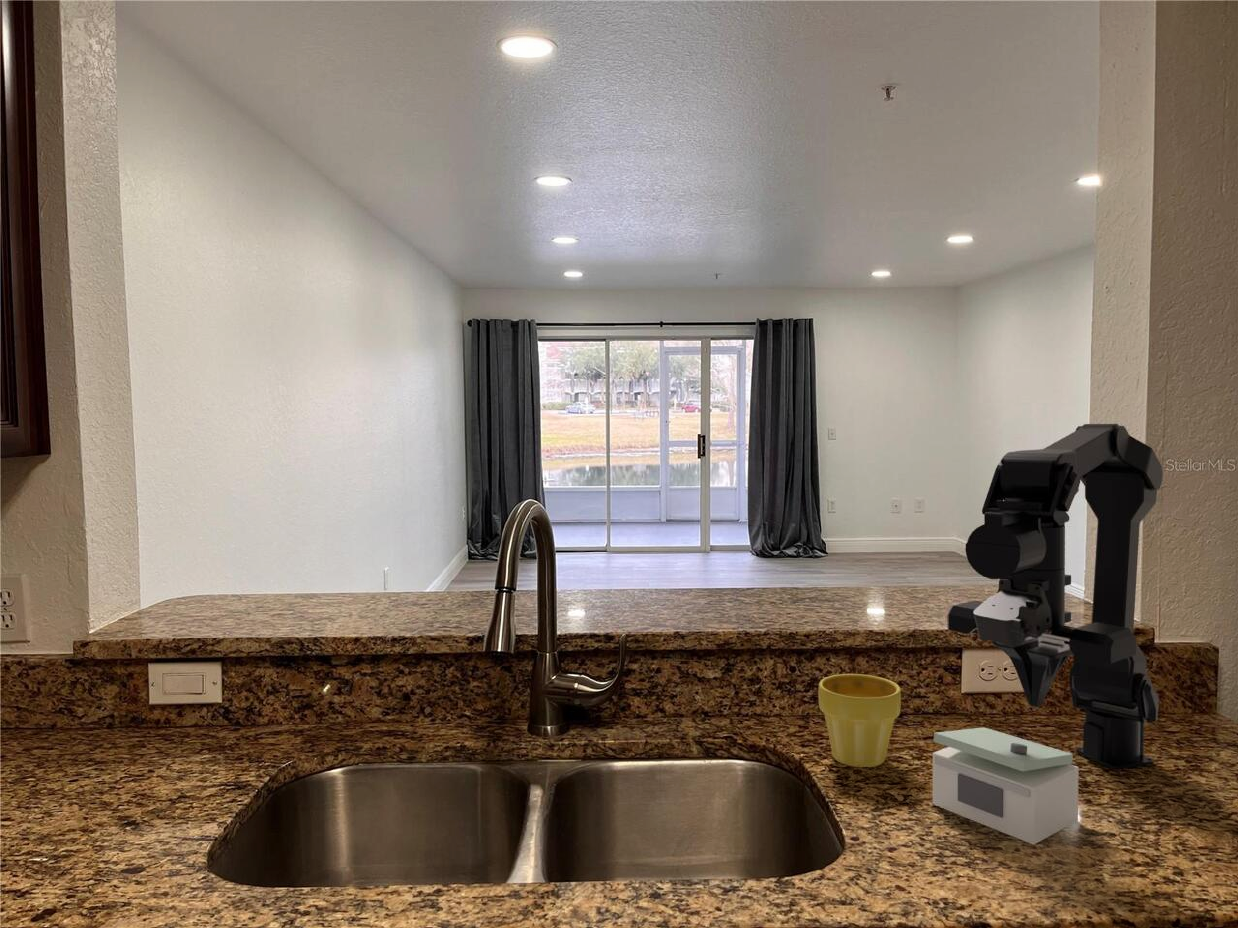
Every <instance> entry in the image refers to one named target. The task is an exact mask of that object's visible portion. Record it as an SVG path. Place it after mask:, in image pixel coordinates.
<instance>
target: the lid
mask: <svg viewBox="0 0 1238 928" xmlns="http://www.w3.org/2000/svg"><path fill="white" fill-rule="evenodd" d="M933 742H934V743H937V744H940V745H943V746H946V747H951V748H954V749H957V750H960V751H963V752H966V753H969V754H972V755H975V756H978V757H981V758H984V759H987V760H990V761H993V762H996V763H999V764H1002V765H1005V766H1008V767H1011V768H1014V769H1017V770H1020V771H1029V770H1035V769H1041V768H1047V767H1053V766H1059V765H1065V764H1070V765H1072V764H1073V758H1074V757H1073V756H1074V754H1073V753H1071V752H1068V751H1063V750H1060V749H1056V748H1054V747H1050V746H1047V745H1044V744H1041V743H1037V742H1034V741H1031V740H1027V739H1025V738H1024V739H1023V738H1022V737H1018V736H1015V735H1011V734H1007V733H1004V732H1001V731H997V730H994V729H991V728H988V727H975V728H965V729H964V728H963V729H959V730H958V729H957V730H949V731H948V730H946V731H939V732H933Z"/></svg>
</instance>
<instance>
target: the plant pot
mask: <svg viewBox="0 0 1238 928" xmlns="http://www.w3.org/2000/svg"><path fill="white" fill-rule="evenodd" d="M901 699H902V690H901V687H900V686H899V685H898V684H897V683H896V682H895V681H892V680H890V679H887V678H884V677H880V676H875V675H870V674H860V673H841V674H833V675H830V676H826V677H824V678H822V679H820V681H819V683H818V707H819V710H820V711H821V712H822V713H823V714H824V718H825V725H826V729H827V733H828V738H829V743H830V747H831V748H830V749H831V754H832V757H833V759H834V760H836V761H837V762H838V763H840V764H843V765H846V766H849V767H855V768H863V767H868V768H874V767H878V766H881V765H882V764H883V763H884V762H885V761H886V756H887V753H888V747H889V744H890V743H889V742H890V739H891V735H892V731H893V727H894V723H895V719H897V718H898V717H899V716H900V714H901V706H902V705H901V703H902V700H901Z"/></svg>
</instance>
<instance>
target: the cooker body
mask: <svg viewBox="0 0 1238 928" xmlns="http://www.w3.org/2000/svg"><path fill="white" fill-rule="evenodd" d="M933 804H934V805H933ZM932 805H933V806H936V807H938V806H939V807H938V808H942V809H943V808H944V810H946V811H949V812H951V813H952V814H956V815H958V816H961V817H963V818H966V819H968V820H971V821H974V822H976V823H979V824H981V825H983V826H986V827H988V828H991V829H994V830H996V831H998V832H1001V833H1003V834H1006V835H1009V836H1011V837H1013V838H1016V839H1018V840H1021V841H1023V842H1026V843H1028V844H1029V845H1030V844H1031V845H1033V846H1034V845H1036V844H1037V843H1039V842H1042V841H1043V840H1046V839H1047V838H1049V837H1051V836H1052V835H1055V834H1056V833H1058V832H1060V831H1062V830H1063V829H1066V828H1067V827H1069V826H1072V825H1073V824H1074V823H1077V822H1078V821H1079V766H1076V765H1073V764H1065V765H1059V766H1053V767H1047V768H1041V769H1035V770H1029V771H1020V770H1017V769H1014V768H1011V767H1008V766H1005V765H1002V764H999V763H996V762H993V761H990V760H987V759H984V758H981V757H978V756H975V755H972V754H969V753H966V752H963V751H960V750H957V749H954V748H951V747H948V746H946V747H945V748H943V749H942V748H941V749H940V750H936V751H934V752H932Z"/></svg>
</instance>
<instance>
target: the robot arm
mask: <svg viewBox="0 0 1238 928" xmlns="http://www.w3.org/2000/svg"><path fill="white" fill-rule="evenodd" d="M1160 462H1161V461H1160V460H1159V459H1158V457H1157V454H1156V453H1155V451H1154V450H1153V448H1152V447H1150V446H1149V445H1147V444H1146V443H1143V442H1142V441H1140V440H1138V439H1137V438H1135V437H1133V436H1132V435H1130V434H1129V432H1128V431H1127V428H1126V427H1125V426H1124V425H1120V424H1118V423H1084V424H1083V425H1079V426H1077V427H1076V428H1075V431H1073V432H1071V433H1070V434H1068V435H1066V436H1065V437H1063V438H1061V439H1059V440H1057V441H1054V442H1053V443H1051V444H1050V445H1047V446H1046V447H1044V448H1040V449H1025V450H1016V451H1015V450H1014V451H1008V452H1007V453H1005V454H1004V455H1003V456H1002V458H1001V459H1000V462H999V463H998V464H997V466H996V467H995V470H994V473H993V476H992V480H991V482H990V485H989V489H988V491H987V494H986V497H985V500H984V503H983V506H982V509H981V513H982V515H984V518H983V519H984V520H983V521H984V522H983V523H984V524H981V525H979V526H978V527H976V528H975V529H974V530H973V531H972V532H971V533H970V535H969V536H968V539H967V541H966V543H965V554H966V556H965V557H966V558H967V562H968V563H969V565H970V567H971V568H972V569H973V570H974V571H975V573H977V574H979V575H980V576H982V577H984V578H986V579H990V580H998V589H997V592H996V594H993V595H990V596H989V597H988V598H987V599H986V600H984V601H980V600H976V599H975V600H971V601H967V602H962V603H959V604H954V605H952V606H951V608H950V609H949V611H948V612H947V619H946V621H947V622H946V623H947V624H946V625H947V626H946V628H947V630H949V631H953V632H956V633H962V634H967V635H970V634H972V633H973V632H975V631H976V630H977V634H978V639H979V640H981V641H983V642H988V641H990V642H991V643H992V645H993V647H995V648H999V649H1000V650H1001V651H1003V653H1005V654H1006V656H1007V657H1009V659H1010V660H1011V663H1012V665H1013V667H1014V669H1015V671H1016V674H1017V676H1018V680H1019V681H1020V685H1021V687H1022V689H1023V693H1024V695H1025V698H1026V700H1027V703H1028V705H1029V706H1030V707H1033V708H1039V707H1041V706H1042V705H1043V702H1044V700H1045V699H1046V697H1047V694H1048V693H1049V690H1050V689H1051V687H1052V684H1053V682H1054V681H1055V678H1056V677H1057V675H1058V673H1059V671H1060V670H1061V668H1062V666H1063V665H1064V664H1065V662H1066V660H1067V659H1068V658H1069V656H1070V655H1073V662H1072V664H1071V667H1070V669H1069V678H1068V679H1069V687H1070V692H1071V699H1072V704H1073V705H1072V707H1073V708H1075V709H1083V710H1085V714H1084V715H1085V718H1084V719H1085V722H1083V726H1082V728H1083V729H1082V730H1083V733H1082V734H1083V735H1082V736H1083V738H1082V741H1083V742H1082V747H1081V746H1080V747H1076V748H1075V752H1076V753H1077V754H1079V755H1081V756H1083V757H1085V758H1087V759H1089V760H1091V761H1094V762H1095V763H1098V764H1100V765H1103V766H1104V767H1106V768H1108V769H1109V768H1110V769H1111V770H1114V771H1115V770H1122V769H1129V768H1131V769H1132V768H1136V767H1145V766H1149V765H1154V764H1155V760H1154V759H1152V758H1151V757H1148V756H1145V754H1144V748H1145V747H1144V746H1145V745H1144V742H1145V739H1144V738H1145V737H1144V736H1145V735H1144V734H1145V733H1144V732H1145V729H1144V728H1145V727H1144V726H1145V724H1146V723H1147V722H1157V721H1158V718H1159V717H1158V716H1159V715H1158V713H1159V708H1160V707H1159V701H1160V700H1159V696H1158V693H1157V691H1156V689H1155V687H1154V685H1153V683H1152V681H1151V678H1150V676H1149V675H1148V674H1147V671H1148V670H1147V666H1148V665H1147V663H1148V662H1147V658H1146V656H1145V655H1144V653H1143V651H1142V649H1141V648H1140V646H1139V645H1138V643H1137V638H1136V637H1135V636H1134V635H1135V634H1134V628H1135V627H1134V625H1135V611H1136V610H1135V609H1136V595H1137V593H1136V590H1137V577H1138V576H1137V575H1138V559H1139V557H1138V556H1139V540H1140V525H1141V522H1142V521H1143V520H1144V519H1145V517H1146V516H1147V515H1148V513H1149V512H1150V511H1151V510H1152V508H1153V507H1155V505H1156V502H1157V494H1158V490H1160V488H1161V485H1162V482H1163V468H1162V464H1161V463H1160ZM1081 482H1082V485H1083V486H1084V499H1085V500H1086V503H1087V504H1088V506H1089V507H1090V509H1091V511H1092V513H1093V514H1094V516H1095V517H1096V519H1097V526H1096V527H1097V528H1096V529H1097V530H1096V545H1095V546H1096V547H1095V562H1094V563H1095V564H1094V577H1093V578H1094V579H1093V592H1092V593H1093V594H1092V612H1091V623H1089V624H1085V625H1082V626H1078V627H1073V626H1069V625H1067V626H1066V625H1065V624H1067V623H1069V622H1072V612H1070V611H1066V607H1065V602H1066V599H1065V597H1066V591H1065V589H1066V586H1069V585H1072V575H1070V574H1066V567H1065V566H1066V526H1065V524H1066V523H1068V522H1069V521H1070V516H1069V514H1068V512H1069V510H1070V508H1071V506H1072V504H1073V501H1074V499H1075V496H1076V494H1077V493H1078V492H1079V491H1080V490H1079V487H1080V485H1081Z"/></svg>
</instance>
